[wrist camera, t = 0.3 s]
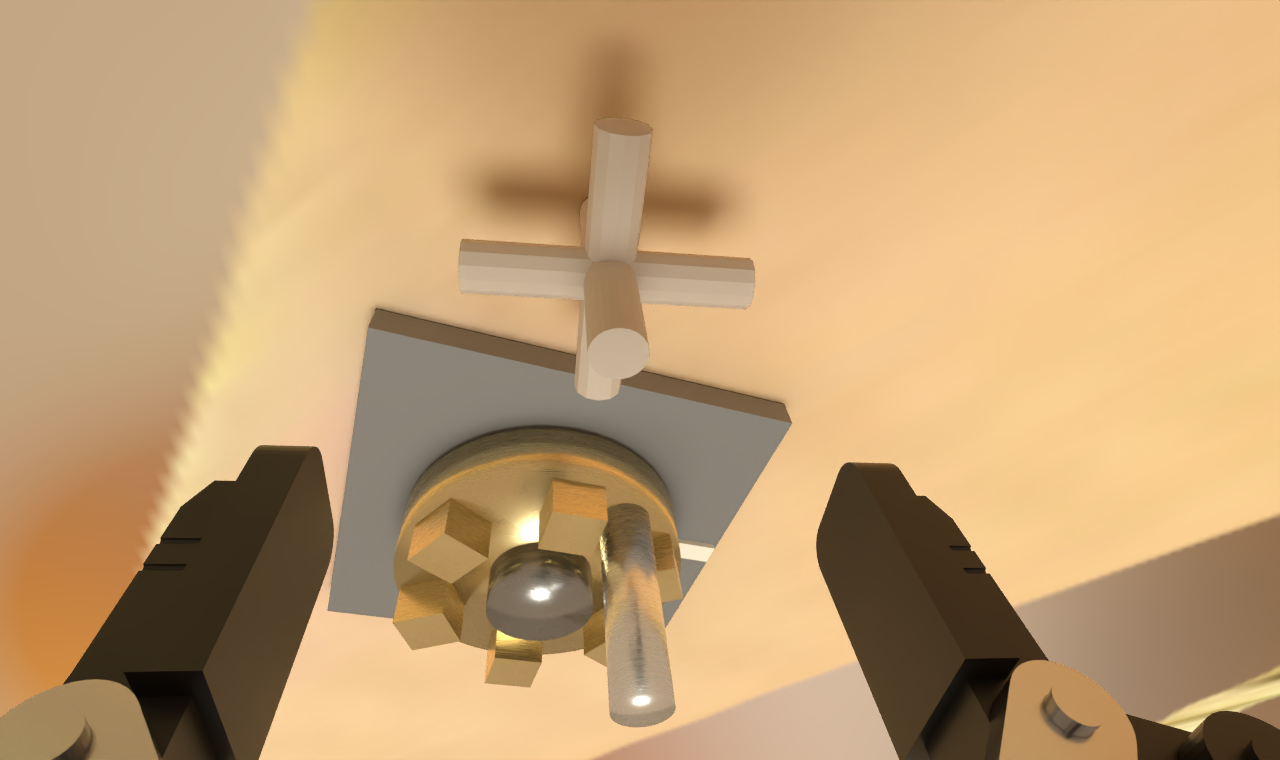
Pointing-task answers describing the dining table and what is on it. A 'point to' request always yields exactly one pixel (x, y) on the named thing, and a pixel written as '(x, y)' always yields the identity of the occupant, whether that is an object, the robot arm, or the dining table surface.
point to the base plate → (529, 399)
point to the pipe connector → (608, 266)
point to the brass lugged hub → (545, 562)
